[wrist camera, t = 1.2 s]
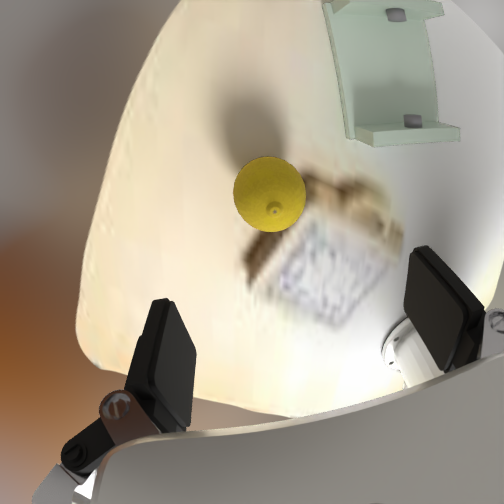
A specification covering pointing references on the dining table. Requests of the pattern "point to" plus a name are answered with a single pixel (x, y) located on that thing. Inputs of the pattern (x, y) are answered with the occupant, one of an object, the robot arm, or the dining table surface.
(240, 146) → the dining table surface
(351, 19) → the holder
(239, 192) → the lemon
